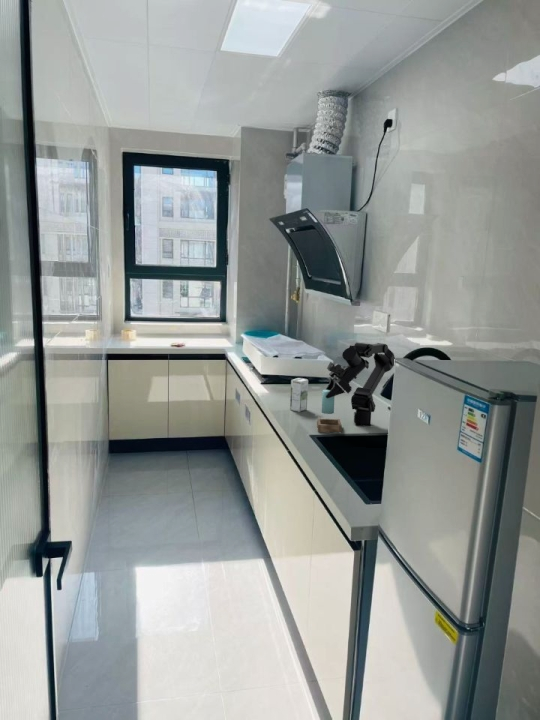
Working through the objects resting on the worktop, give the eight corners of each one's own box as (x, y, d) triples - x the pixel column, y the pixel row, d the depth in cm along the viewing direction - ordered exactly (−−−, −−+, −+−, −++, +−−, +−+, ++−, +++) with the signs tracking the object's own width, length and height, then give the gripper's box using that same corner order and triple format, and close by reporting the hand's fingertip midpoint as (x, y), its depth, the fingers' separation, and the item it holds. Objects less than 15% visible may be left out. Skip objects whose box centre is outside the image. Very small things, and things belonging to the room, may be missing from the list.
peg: (333, 411, 231) (334, 389, 229) (334, 414, 226) (334, 392, 224) (321, 410, 231) (322, 389, 230) (321, 413, 226) (322, 392, 225)
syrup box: (297, 407, 261) (298, 377, 259) (307, 409, 258) (308, 379, 255) (289, 409, 257) (290, 379, 255) (300, 412, 253) (301, 381, 251)
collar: (339, 426, 233) (339, 419, 232) (341, 432, 224) (341, 425, 223) (316, 425, 233) (317, 418, 233) (318, 432, 224) (318, 424, 223)
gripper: (334, 352, 234) (308, 377, 235) (344, 359, 216) (315, 387, 216) (352, 370, 236) (325, 396, 237) (363, 379, 218) (334, 406, 218)
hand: (325, 396), depth 227 cm, fingers closed on peg, 5 cm apart
